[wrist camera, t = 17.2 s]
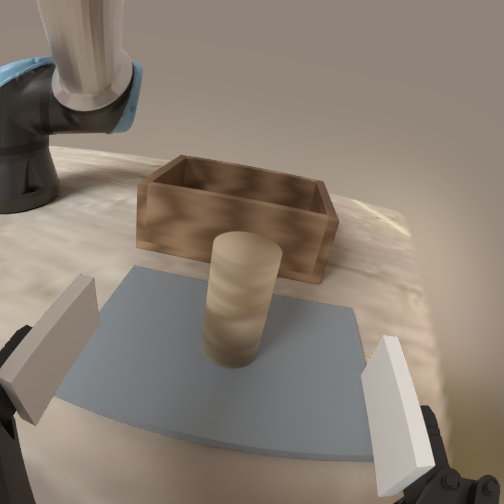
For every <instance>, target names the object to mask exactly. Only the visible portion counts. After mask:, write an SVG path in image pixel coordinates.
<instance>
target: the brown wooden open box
mask: <svg viewBox="0 0 504 504" xmlns="http://www.w3.org/2000/svg"><path fill="white" fill-rule="evenodd" d="M338 223H339V220H338V217H337V215H336V212H335V209H334V207H333V204H332V202H331V199H330V197H329V194H328V192H327V189H326V187H325V184H324V182H323V181H319V180H314V179H309V178H305V177H301V176H296V175H291V174H286V173H282V172H277V171H271V170H267V169H261V168H256V167H251V166H245V165H240V164H234V163H228V162H222V161H216V160H210V159H204V158H198V157H191V156H184V155H180V156H179V157H177V158H176V159H174V160H172V161H171V162H169V163H168V164H166V165H165V166H163V167H162V168H160V169H159V170H157V171H156V172H154V173H153V174H151V175H150V176H148V177H147V178H145V179H144V180H142V181H141V182H139V183H138V191H137V229H136V247H137V248H142V249H146V250H151V251H156V252H160V253H165V254H170V255H175V256H179V257H184V258H189V259H194V260H199V261H203V262H208V263H211V257H212V249H213V242H214V239H215V238H216V237H217V236H219V235H221V234H223V233H227V232H236V231H240V232H250V233H254V234H258V235H261V236H264V237H266V238H268V239H270V240H272V241H274V242H275V243H276V244H277V245H278V246H279V247H280V248H281V250H282V258H281V262H280V266H279V270H278V274H277V276H278V277H284V278H289V279H294V280H299V281H304V282H310V283H315V284H320V281H321V278H322V275H323V272H324V269H325V266H326V263H327V259H328V256H329V253H330V250H331V247H332V243H333V240H334V237H335V234H336V230H337V227H338Z"/></svg>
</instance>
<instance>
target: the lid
mask: <svg viewBox="0 0 504 504" xmlns="http://www.w3.org/2000/svg"><path fill="white" fill-rule="evenodd" d="M281 258H282V250H281V248H280V247H279V246H278V245H277V244H276V243H275V242H274V241H272V240H270V239H268V238H266V237H264V236H261V235H258V234H254V233H250V232H240V231H236V232H227V233H223V234H221V235H219V236H217V237H216V238H215V239H214V242H213V249H212V257H211V265H210V273H209V281H204V280H199V279H195V278H190V277H185V276H180V275H176V274H171V273H167V272H162V271H158V270H153V269H149V268H144V267H140V266H135V265H134V267H133V268H132V269H131V270H130V272H129V273H128V274H127V276H126V277H125V278H124V280H123V281H122V282H121V284H120V285H119V286H118V288H117V289H116V290H115V291H114V293H113V294H112V296H111V297H110V298H109V300H108V301H107V302H106V304H105V305H104V306H103V308H102V309H101V310H100V312H99V318H100V324H99V326H98V327H97V329H96V330H95V332H94V333H93V335H92V336H91V338H90V339H89V341H88V342H87V344H86V345H85V347H84V348H83V350H82V351H81V353H80V354H79V356H78V358H77V359H76V361H75V362H74V364H73V365H72V367H71V368H70V370H69V372H68V373H67V375H66V376H65V378H64V380H63V381H62V383H61V384H60V386H59V388H58V389H57V391H56V393H55V394H54V396H56V397H58V398H60V399H62V400H65V401H67V402H69V403H72V404H74V405H77V406H79V407H82V408H84V409H87V410H89V411H92V412H94V413H97V414H100V415H103V416H105V417H108V418H111V419H114V420H117V421H120V422H123V423H126V424H129V425H132V426H135V427H138V428H141V429H145V430H148V431H151V432H155V433H158V434H162V435H166V436H170V437H173V438H177V439H181V440H185V441H190V442H194V443H198V444H203V445H208V446H213V447H218V448H223V449H228V450H234V451H240V452H246V453H253V454H260V455H267V456H275V457H284V458H294V459H306V460H322V461H352V462H371V461H374V456H373V449H372V442H371V435H370V428H369V421H368V415H367V409H366V403H365V397H364V391H363V386H362V380H361V374H362V372H363V371H364V369H365V367H366V364H365V360H364V355H363V351H362V346H361V342H360V338H359V333H358V329H357V325H356V321H355V317H354V313H353V309H352V308H347V307H342V306H336V305H330V304H324V303H318V302H313V301H307V300H302V299H296V298H291V297H285V296H280V295H275V294H273V290H274V286H275V282H276V278H277V274H278V270H279V266H280V262H281Z"/></svg>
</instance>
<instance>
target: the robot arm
mask: <svg viewBox="0 0 504 504" xmlns="http://www.w3.org/2000/svg"><path fill="white" fill-rule="evenodd" d="M37 4H38V8H39V12H40V16H41V19H42V23H43V27H44V30H45V34H46V37H47V40H48V44H49V47H50V50H51V53H52V56H53V57H52V56H43V57H37V58H30V59H25V60H21V61H17V62H14V63H10V64H7V65H5V66H2V67H0V213H13V212H20V211H25V210H29V209H32V208H36V207H38V206H41V205H43V204H46V203H48V202H50V201H51V200H53V199H54V198H55V197H56V196H57V195H58V194H59V178H58V175H57V172H56V169H55V166H54V163H53V160H52V157H51V154H50V151H49V135H53V134H54V135H55V134H78V133H79V134H80V133H106V134H112V133H122V132H126V131H128V130H129V129H130V128H131V126H132V124H133V121H134V118H135V113H136V106H137V103H138V99H139V94H140V88H141V82H142V73H143V68H142V65H141V64H140V63H137V62H134V61H131V59H130V57H129V55H128V54H127V52H126V51H125V50H124V49H123V48H122V28H123V8H124V0H37ZM99 324H100V318H99V311H98V304H97V297H96V289H95V280H94V277H90V276H86V275H83V274H80V275H79V276H78V277H77V278H76V279H75V280H74V282H73V283H72V284H71V285H70V286H69V287H68V288H67V289H66V290H65V291H64V292H63V293H62V295H61V296H60V297H59V298H58V299H57V300H56V301H55V302H54V304H53V305H52V306H51V307H50V308H49V309H48V310H47V312H46V313H45V314H44V315H43V316H42V317H41V318H40V320H39V321H38V322H37V323H36V324H35V326H34V327H30V326H28V325H26V326H24V327H23V328H21V329H19V330H18V331H16V333H15V334H14V335H13V336H12V337H11V339H10V341H8V342H7V343H6V345H5V347H3V348H2V349H1V351H0V504H36V503H35V500H34V497H33V493H32V490H31V487H30V483H29V480H28V476H27V473H26V469H25V465H24V461H23V457H22V453H21V448H20V443H19V439H18V433H17V428H16V423H15V419H14V416H13V415H14V413H15V412H16V411H17V412H18V414H19V415H20V417H21V418H22V419H24V420H25V421H27V422H29V423H31V424H33V425H35V426H36V425H37V423H38V422H39V420H40V418H41V416H42V415H43V413H44V411H45V409H46V408H47V406H48V404H49V403H50V401H51V399H52V398H53V396H54V394H55V393H56V391H57V389H58V388H59V386H60V384H61V383H62V381H63V380H64V378H65V376H66V375H67V373H68V372H69V370H70V368H71V367H72V365H73V364H74V362H75V361H76V359H77V358H78V356H79V354H80V353H81V351H82V350H83V348H84V347H85V345H86V344H87V342H88V341H89V339H90V338H91V336H92V335H93V333H94V332H95V330H96V329H97V327H98V326H99ZM361 380H362V386H363V391H364V397H365V403H366V409H367V415H368V421H369V428H370V435H371V442H372V449H373V456H374V464H375V472H376V481H377V490H378V497H386V496H395V495H397V494H398V493H400V492H401V491H403V492H404V497H402V498H401V499H399V500H398V501H396V502H395V503H394V504H498V503H499V495H500V485H499V483H498V481H497V480H496V478H495V477H493V476H491V475H485V476H483V477H481V478H480V479H479V480H477V481H476V480H470V479H465V478H461V476H460V474H459V473H458V472H457V471H456V470H455V469H452V468H450V466H449V464H448V460H447V456H446V452H445V448H444V445H443V441H442V437H441V436H440V430H439V428H438V424H437V420H436V417H435V414H434V413H433V412H432V410H431V409H430V407H429V406H420V405H419V401H418V398H417V395H416V391H415V388H414V385H413V382H412V378H411V375H410V372H409V369H408V366H407V363H406V360H405V357H404V354H403V351H402V348H401V345H400V343H399V340H398V337H393V336H385V335H383V336H382V338H381V340H380V342H379V344H378V346H377V348H376V349H375V351H374V353H373V355H372V357H371V358H370V360H369V362H368V364H367V366H366V367H365V369H364V371H363V372H362V374H361Z"/></svg>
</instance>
